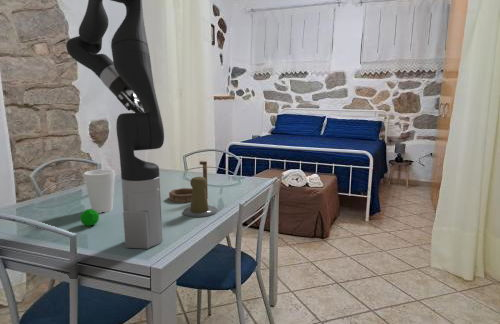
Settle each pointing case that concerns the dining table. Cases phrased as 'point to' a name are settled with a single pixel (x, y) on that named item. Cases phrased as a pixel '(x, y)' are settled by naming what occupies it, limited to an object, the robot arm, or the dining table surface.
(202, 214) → the slate coaster
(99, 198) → the foam cup
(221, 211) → the dining table surface
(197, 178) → the cork
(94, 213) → the polyhedron
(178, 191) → the ring stand
